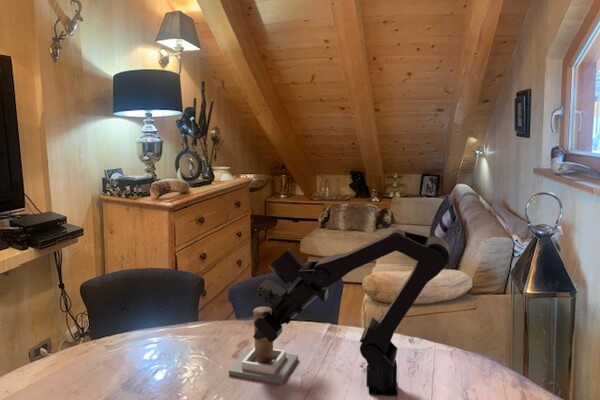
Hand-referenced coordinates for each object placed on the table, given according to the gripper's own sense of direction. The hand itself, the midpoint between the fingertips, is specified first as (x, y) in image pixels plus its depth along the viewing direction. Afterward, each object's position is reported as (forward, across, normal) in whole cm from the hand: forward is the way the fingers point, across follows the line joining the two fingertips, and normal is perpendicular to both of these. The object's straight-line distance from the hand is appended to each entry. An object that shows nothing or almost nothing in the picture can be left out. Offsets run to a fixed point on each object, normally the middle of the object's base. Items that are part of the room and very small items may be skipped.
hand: (258, 333), depth 114 cm
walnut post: (+4, 0, +6) cm, 7 cm away
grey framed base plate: (+5, 0, +7) cm, 9 cm away
